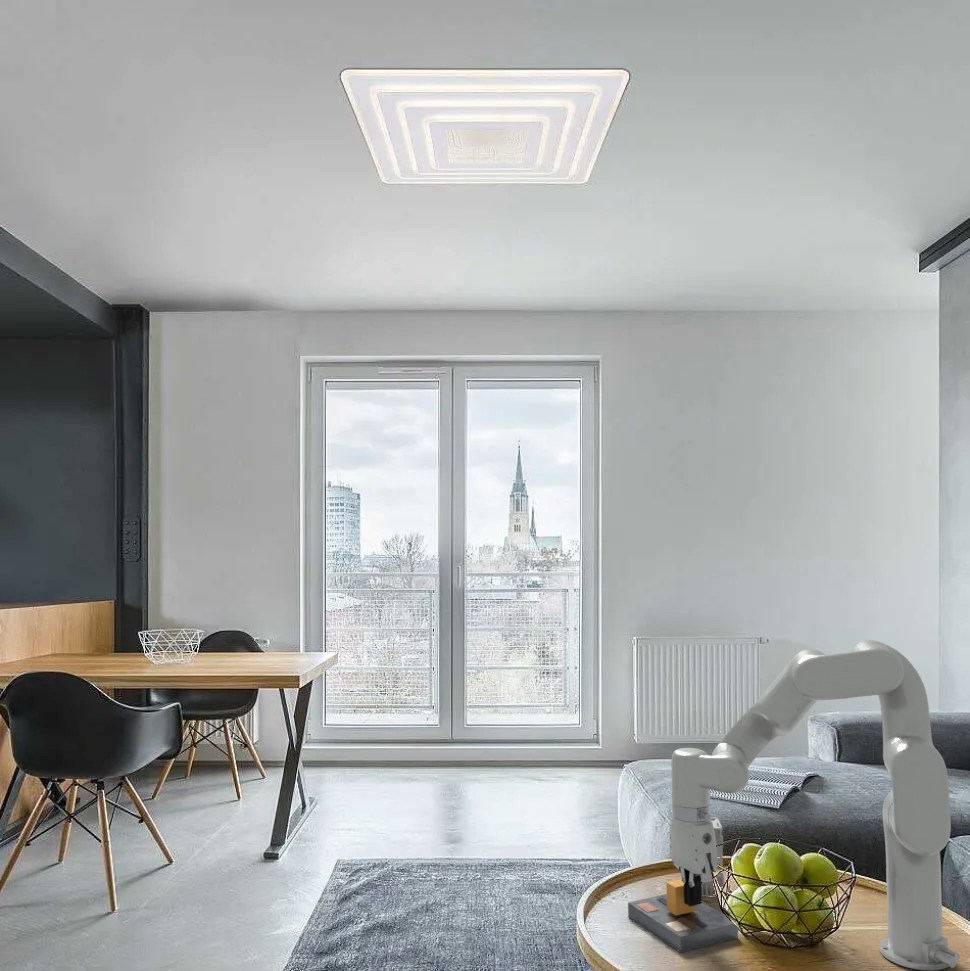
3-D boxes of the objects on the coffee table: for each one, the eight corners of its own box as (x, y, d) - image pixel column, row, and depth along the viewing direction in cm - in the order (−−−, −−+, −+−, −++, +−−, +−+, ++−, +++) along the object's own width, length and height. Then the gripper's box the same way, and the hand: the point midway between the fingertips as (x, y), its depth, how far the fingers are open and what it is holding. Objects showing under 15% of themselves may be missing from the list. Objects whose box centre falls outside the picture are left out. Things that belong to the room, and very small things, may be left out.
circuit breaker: (714, 872, 219) (713, 808, 220) (724, 897, 205) (722, 828, 206) (682, 871, 220) (681, 807, 220) (689, 896, 206) (688, 827, 206)
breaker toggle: (695, 910, 190) (695, 883, 190) (675, 915, 188) (675, 887, 188) (686, 905, 193) (686, 878, 193) (666, 909, 191) (666, 882, 191)
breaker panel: (738, 937, 185) (737, 922, 185) (681, 952, 179) (680, 936, 179) (682, 904, 201) (682, 889, 202) (628, 916, 195) (628, 902, 196)
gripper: (730, 819, 182) (732, 914, 182) (683, 799, 196) (684, 887, 195) (699, 825, 179) (701, 922, 179) (653, 804, 193) (655, 893, 192)
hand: (692, 903), depth 187 cm, fingers closed
